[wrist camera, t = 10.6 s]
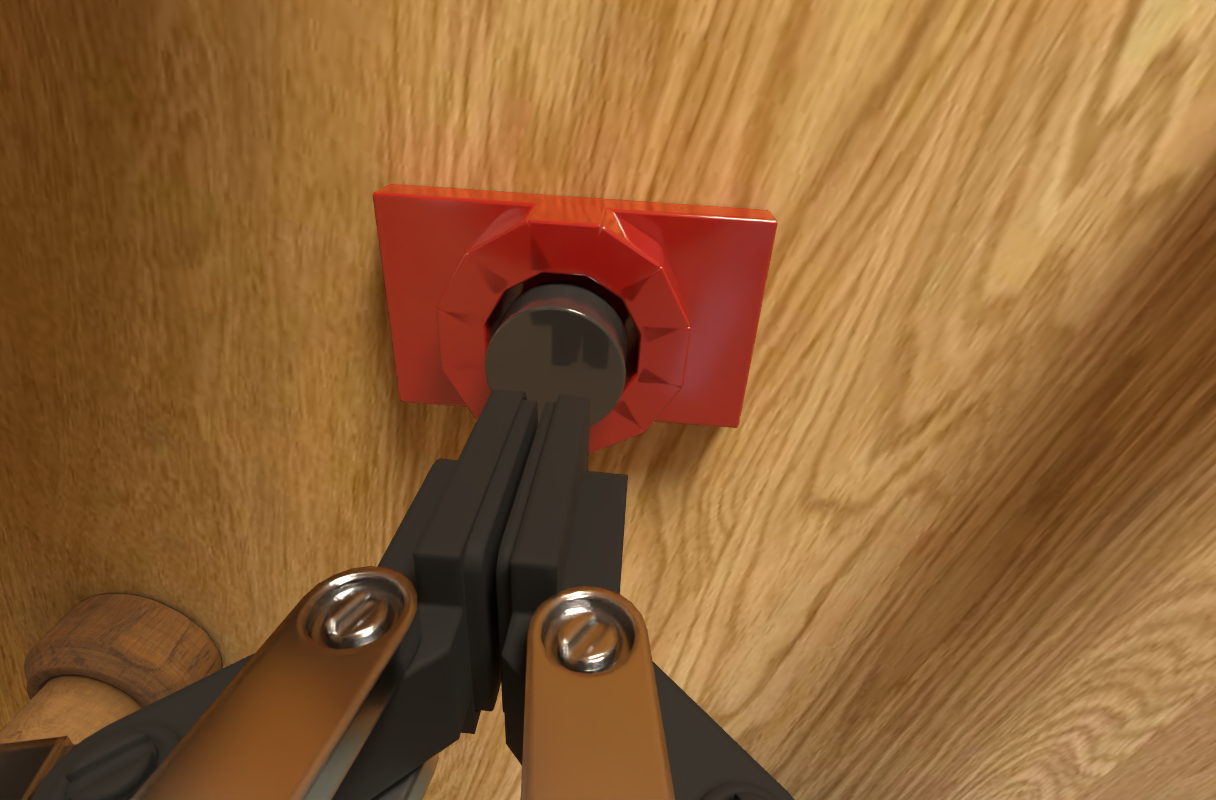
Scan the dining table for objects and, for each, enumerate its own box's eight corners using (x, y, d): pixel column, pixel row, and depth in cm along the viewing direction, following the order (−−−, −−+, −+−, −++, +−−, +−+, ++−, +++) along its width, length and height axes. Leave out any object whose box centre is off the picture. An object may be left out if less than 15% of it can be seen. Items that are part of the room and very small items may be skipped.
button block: (412, 384, 19) (375, 437, 16) (388, 181, 16) (338, 205, 13) (733, 409, 19) (746, 467, 16) (770, 207, 16) (794, 238, 13)
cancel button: (502, 393, 16) (486, 429, 15) (498, 275, 14) (480, 301, 13) (623, 402, 16) (621, 439, 14) (632, 285, 14) (631, 312, 13)
